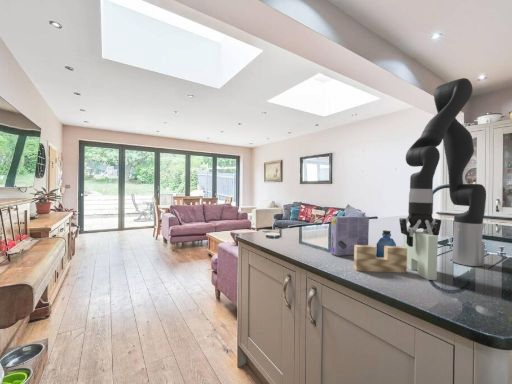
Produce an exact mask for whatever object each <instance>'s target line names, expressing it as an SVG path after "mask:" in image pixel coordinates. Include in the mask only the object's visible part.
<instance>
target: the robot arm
mask: <svg viewBox="0 0 512 384" xmlns="http://www.w3.org/2000/svg"><path fill="white" fill-rule="evenodd" d="M472 94H473V85H472V82H471V81H470V79H468V78H466V77H462V78H459V79H455V80H452V81H449V82H446V83H443V84H440V85H438V86H437V87H436V88H435V89H434V93H433V100H434V105H435V109H436V112H437V114H435V115H434V116H433V117H432V118H431V119H430V120H429V121H428V123H427V124H426V125H425V127H424V129H423V131H422V133H421V135H420V137H419V138H418V139H416V140H415V142H414V143H413V144H411V146H410V147H408V148H409V149H408V150H407V152H406V154H405V162H406V164H407V165H409V166H410V167H414V168H415V167H421V169H420V171H418V172H414V173H412V174H411V175H410V178H409V179H410V180H409V194H408V216H407V217H404V218H403V217H400V218H399V226H400V234H402V235H404V234H405V235H406V236H407V244H408V246H410V247H413V237H412V236H413V234H414V232H415V231H416V230H420V229H422V230H423V232H426V233H429V234H432V235H436V236H438V237H439V234H440V229H441V225H442V220H441V219H439V218H434V217H433V211H434V190H433V182H434V177H435V173H436V170H437V167H438V164H439V161H440V159H441V158H440V157H441V153H440V151H439V149H438V148H437V147H439V146H440V145H441V144H442V141H443V147H444V148H443V149H444V154H445V159H446V164H447V173H448V190H449V192H448V193H449V198H450V200H451V203H452V204H454V206H460V207H463V206H464V207H468V210H466V211H465V212H461V213H456V214H455V215H454V217H453V239H452V240H453V241H452V262H453V263H455V264H459V265H464V266H470V267H481V266H485V249H486V248H485V247H486V245H485V242H484V241H483V231H484V230H483V229H484V228H483V225H484V224H483V223H484V219H485V211H486V201H487V191H486V190H487V189H486V187H485V186H484V184H481V183H480V184H479V183H464V181H463V176H464V171H465V169H466V168H467V165H468V164H469V162H470V161H471V159H472V158H473V155H474V152H475V149H474V142H473V136H472V133H470V131H469V130H468V129H467V128H466V127H465V126H464V125H463V124H462V123H460V122H459V120H458V119H457V118H456V117H457V116H458V115H459V114H460V112H461V111H462V110H463V108H464V107H465V105H466V104H467V103H468V102H469V100H470V99H471V97H472ZM408 223H409V225H407V224H408ZM431 224H432V226H431ZM407 228H408V230H407Z"/></svg>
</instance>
